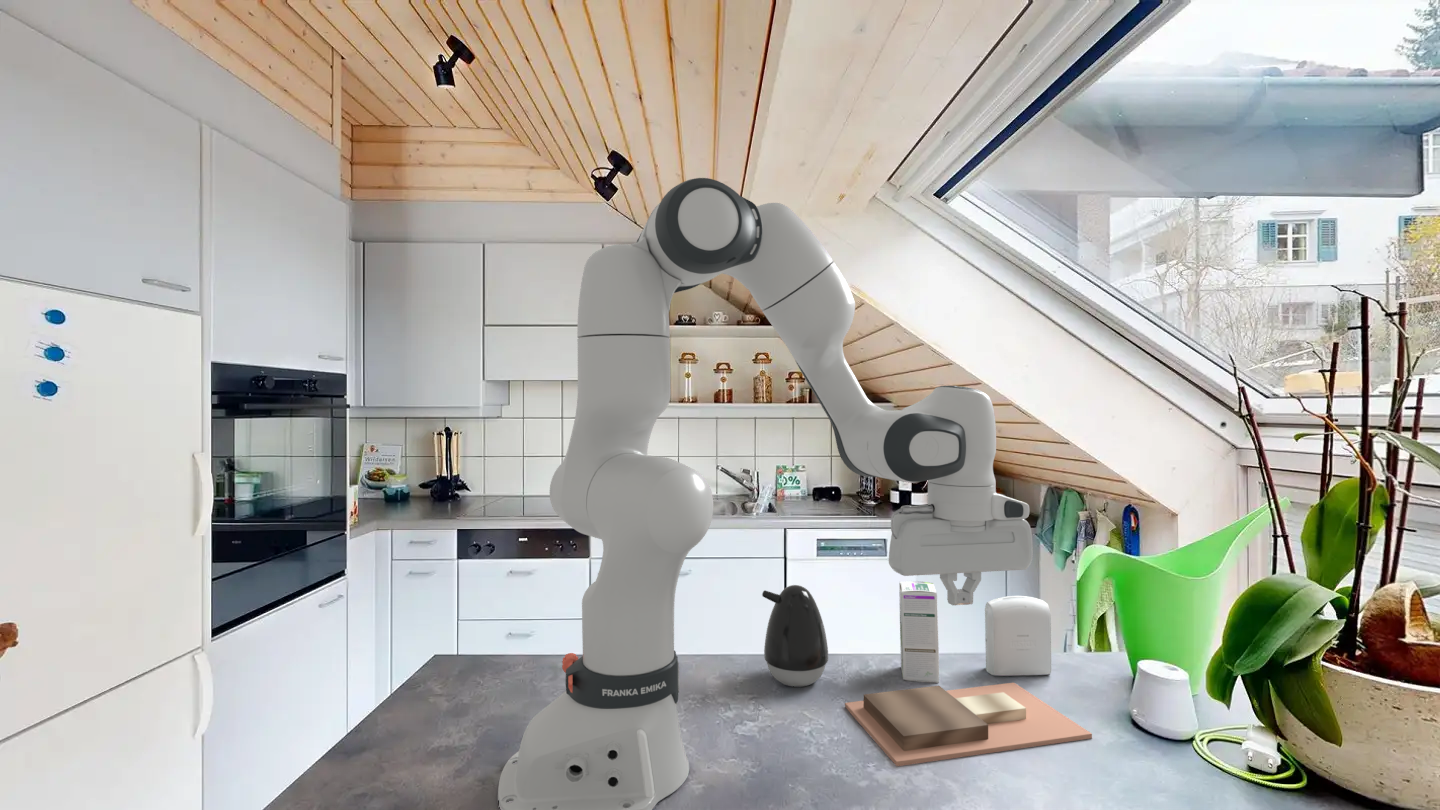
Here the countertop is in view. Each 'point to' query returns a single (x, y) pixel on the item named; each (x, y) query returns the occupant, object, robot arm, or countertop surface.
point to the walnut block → (924, 718)
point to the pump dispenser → (795, 638)
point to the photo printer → (1018, 636)
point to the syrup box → (919, 631)
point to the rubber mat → (1030, 732)
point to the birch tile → (994, 707)
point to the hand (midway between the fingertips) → (960, 603)
